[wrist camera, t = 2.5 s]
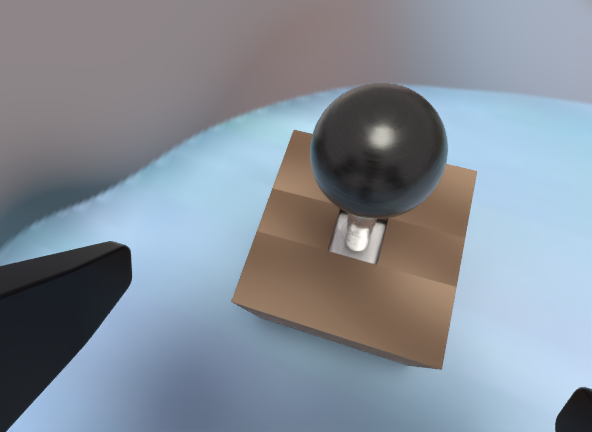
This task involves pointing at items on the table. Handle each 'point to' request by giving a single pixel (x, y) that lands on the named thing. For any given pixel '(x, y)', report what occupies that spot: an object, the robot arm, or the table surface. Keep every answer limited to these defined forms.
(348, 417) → the table surface
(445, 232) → the wooden box
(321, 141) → the black ball knob
